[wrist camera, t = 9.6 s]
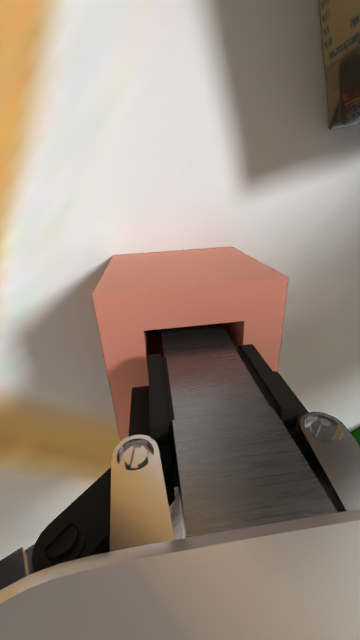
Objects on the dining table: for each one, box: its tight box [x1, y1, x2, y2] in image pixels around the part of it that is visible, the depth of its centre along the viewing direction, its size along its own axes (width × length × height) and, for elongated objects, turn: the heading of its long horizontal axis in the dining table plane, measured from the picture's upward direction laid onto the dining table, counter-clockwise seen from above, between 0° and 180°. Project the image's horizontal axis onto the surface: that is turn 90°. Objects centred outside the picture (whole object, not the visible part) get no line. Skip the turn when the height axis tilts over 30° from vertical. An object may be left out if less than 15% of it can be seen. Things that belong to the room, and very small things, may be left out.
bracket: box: [92, 247, 289, 442], centre depth 17 cm, size 8×11×8 cm
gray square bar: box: [161, 323, 338, 538], centre depth 9 cm, size 3×3×12 cm
